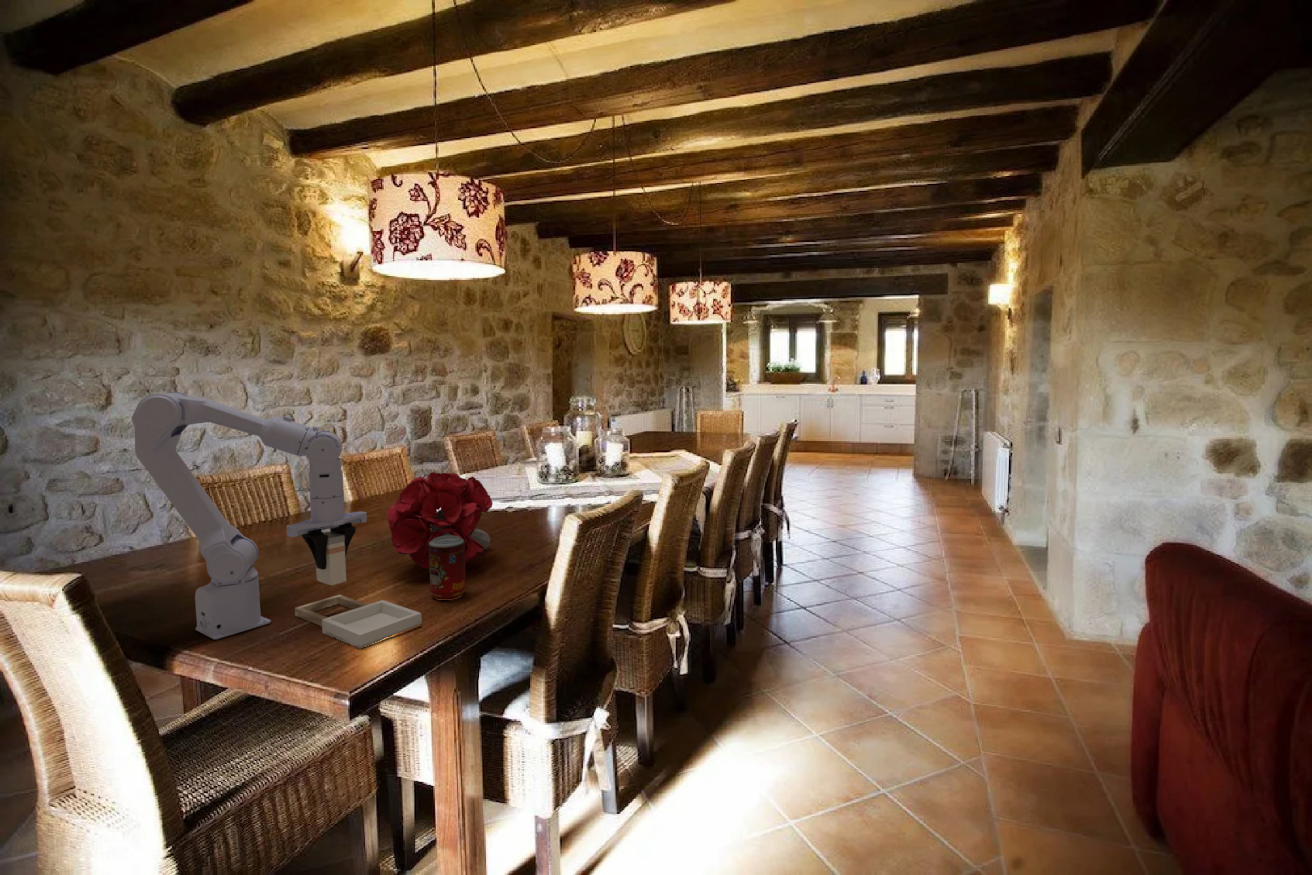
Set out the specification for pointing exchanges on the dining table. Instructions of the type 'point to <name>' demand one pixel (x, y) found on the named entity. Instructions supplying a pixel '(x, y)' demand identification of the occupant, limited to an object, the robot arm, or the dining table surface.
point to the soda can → (447, 567)
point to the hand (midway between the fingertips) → (330, 565)
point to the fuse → (333, 560)
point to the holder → (310, 615)
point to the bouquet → (439, 515)
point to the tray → (370, 623)
